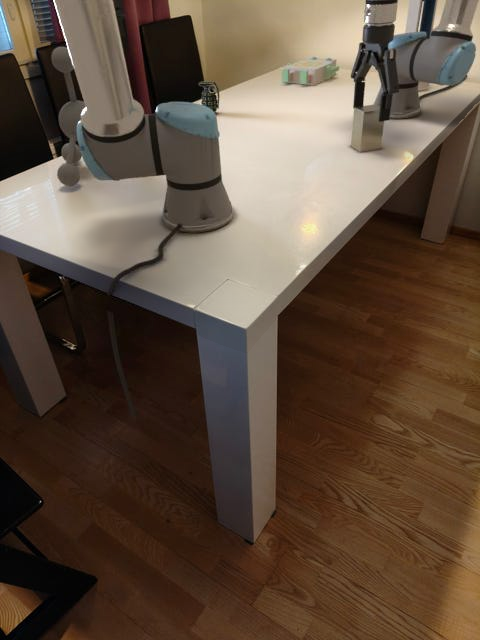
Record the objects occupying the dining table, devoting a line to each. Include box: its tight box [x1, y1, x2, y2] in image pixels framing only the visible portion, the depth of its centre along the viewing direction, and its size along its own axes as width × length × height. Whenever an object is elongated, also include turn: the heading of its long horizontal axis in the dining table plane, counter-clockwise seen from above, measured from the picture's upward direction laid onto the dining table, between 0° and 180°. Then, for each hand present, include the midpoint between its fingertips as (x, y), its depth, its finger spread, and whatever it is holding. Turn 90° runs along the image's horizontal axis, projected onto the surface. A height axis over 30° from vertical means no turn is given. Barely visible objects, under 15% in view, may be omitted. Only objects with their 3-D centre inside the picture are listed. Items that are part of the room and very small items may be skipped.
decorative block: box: [281, 56, 340, 86], centre depth 204 cm, size 26×6×20 cm
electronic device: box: [404, 0, 439, 92], centre depth 176 cm, size 12×8×30 cm, turn 105°
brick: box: [350, 103, 385, 153], centre depth 134 cm, size 7×5×11 cm
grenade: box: [197, 81, 220, 114], centre depth 169 cm, size 7×6×10 cm
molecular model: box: [50, 46, 86, 187], centre depth 124 cm, size 24×22×30 cm
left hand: (120, 48), depth 115 cm, fingers open, 13 cm apart
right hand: (370, 114), depth 132 cm, fingers open, 13 cm apart
